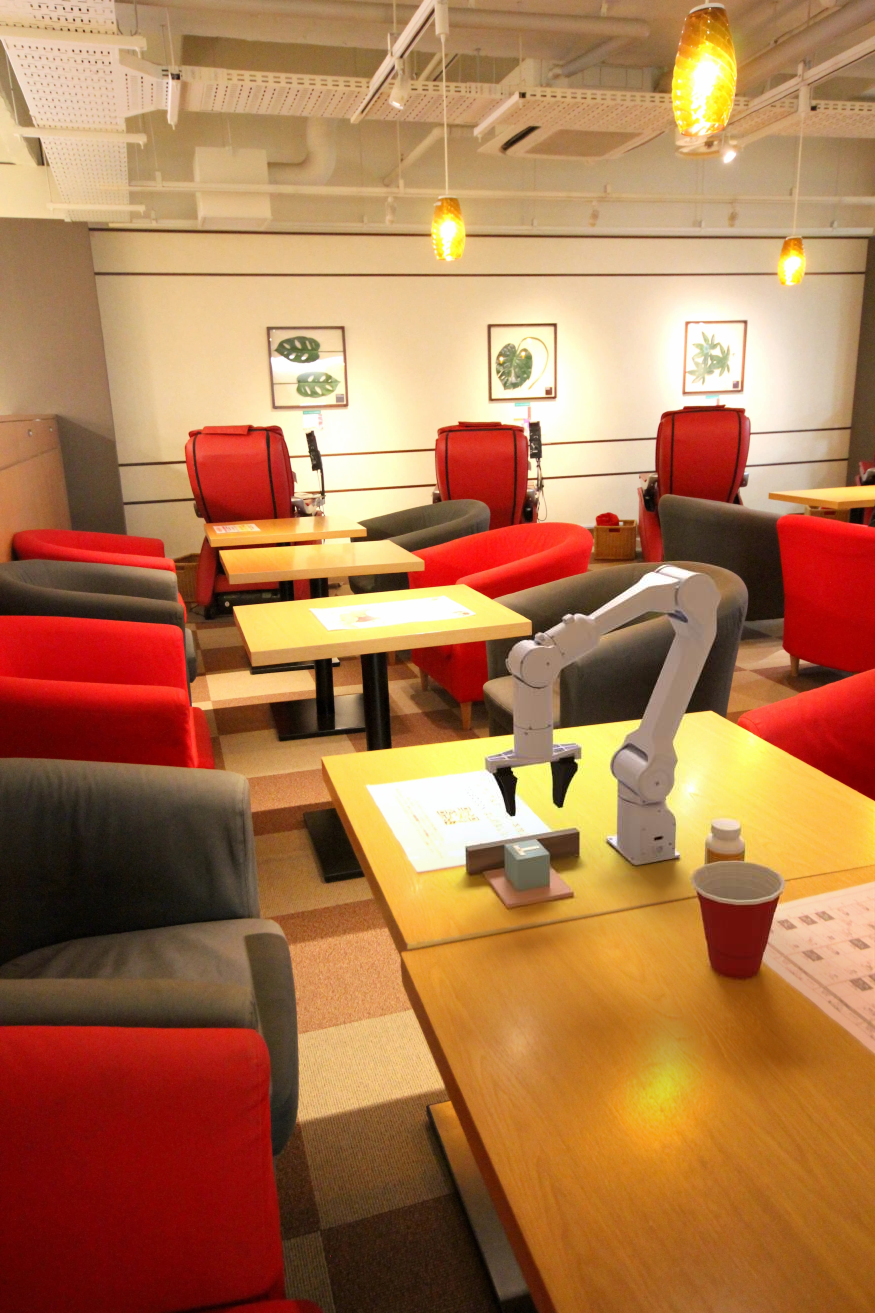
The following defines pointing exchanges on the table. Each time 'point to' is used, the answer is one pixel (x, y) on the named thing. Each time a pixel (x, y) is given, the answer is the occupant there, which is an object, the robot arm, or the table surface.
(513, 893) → the terracotta tile
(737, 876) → the plastic cup
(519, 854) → the lettered cube
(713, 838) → the supplement bottle
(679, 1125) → the table surface
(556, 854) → the walnut plank
